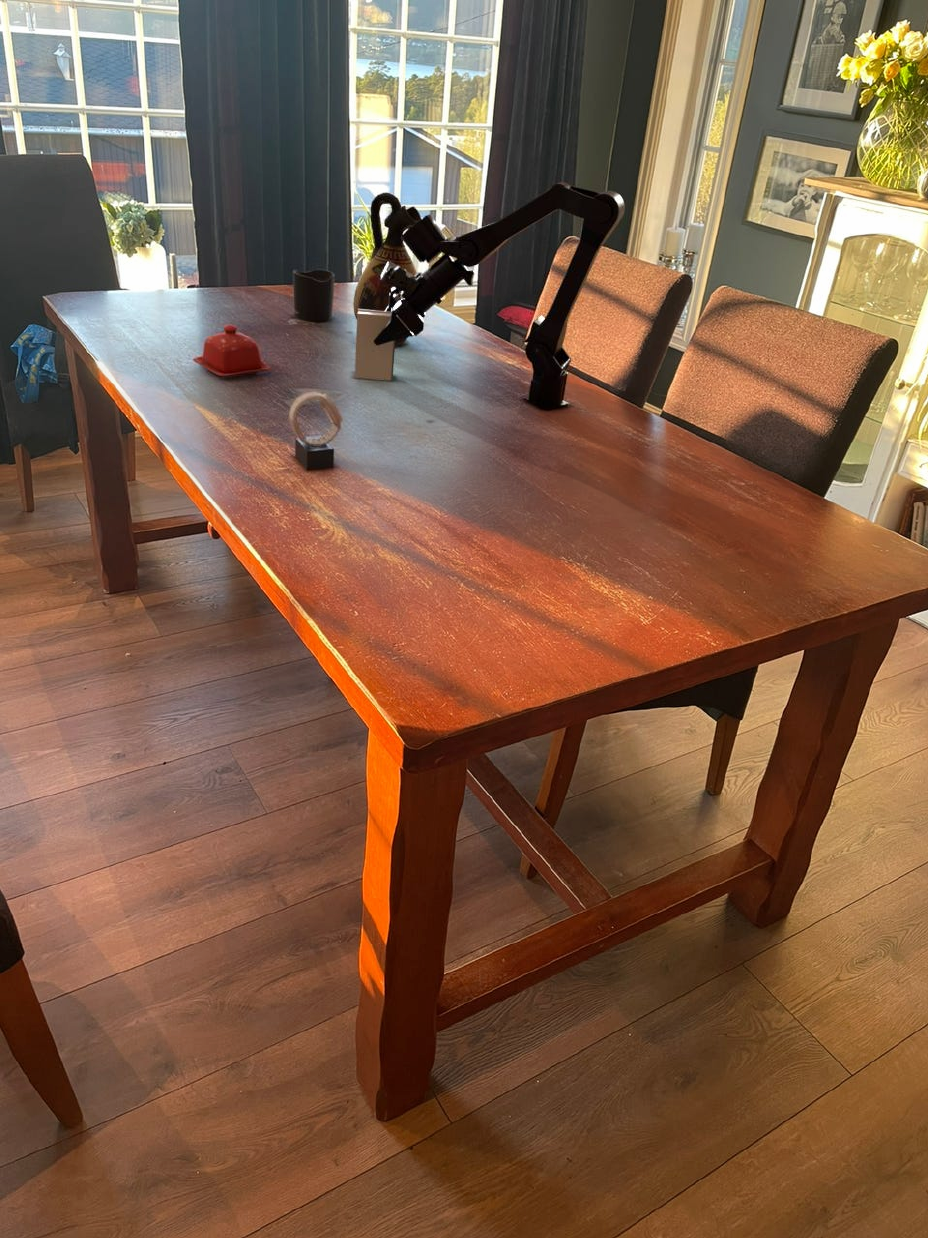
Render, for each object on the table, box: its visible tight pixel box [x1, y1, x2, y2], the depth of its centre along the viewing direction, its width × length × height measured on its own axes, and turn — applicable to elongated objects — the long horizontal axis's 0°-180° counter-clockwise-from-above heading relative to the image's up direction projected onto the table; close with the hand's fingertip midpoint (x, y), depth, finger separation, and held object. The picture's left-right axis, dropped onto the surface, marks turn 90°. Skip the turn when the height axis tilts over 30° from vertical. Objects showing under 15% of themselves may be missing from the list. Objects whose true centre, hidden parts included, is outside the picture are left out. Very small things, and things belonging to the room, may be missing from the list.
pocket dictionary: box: [354, 309, 396, 382], centre depth 183 cm, size 8×4×12 cm, turn 94°
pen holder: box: [292, 268, 336, 323], centre depth 217 cm, size 9×9×10 cm
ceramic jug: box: [352, 191, 423, 348], centre depth 202 cm, size 17×15×30 cm
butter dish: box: [192, 324, 271, 378], centre depth 178 cm, size 12×12×8 cm
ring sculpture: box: [288, 390, 344, 471], centre depth 144 cm, size 6×8×11 cm
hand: (374, 336), depth 182 cm, fingers open, 9 cm apart
